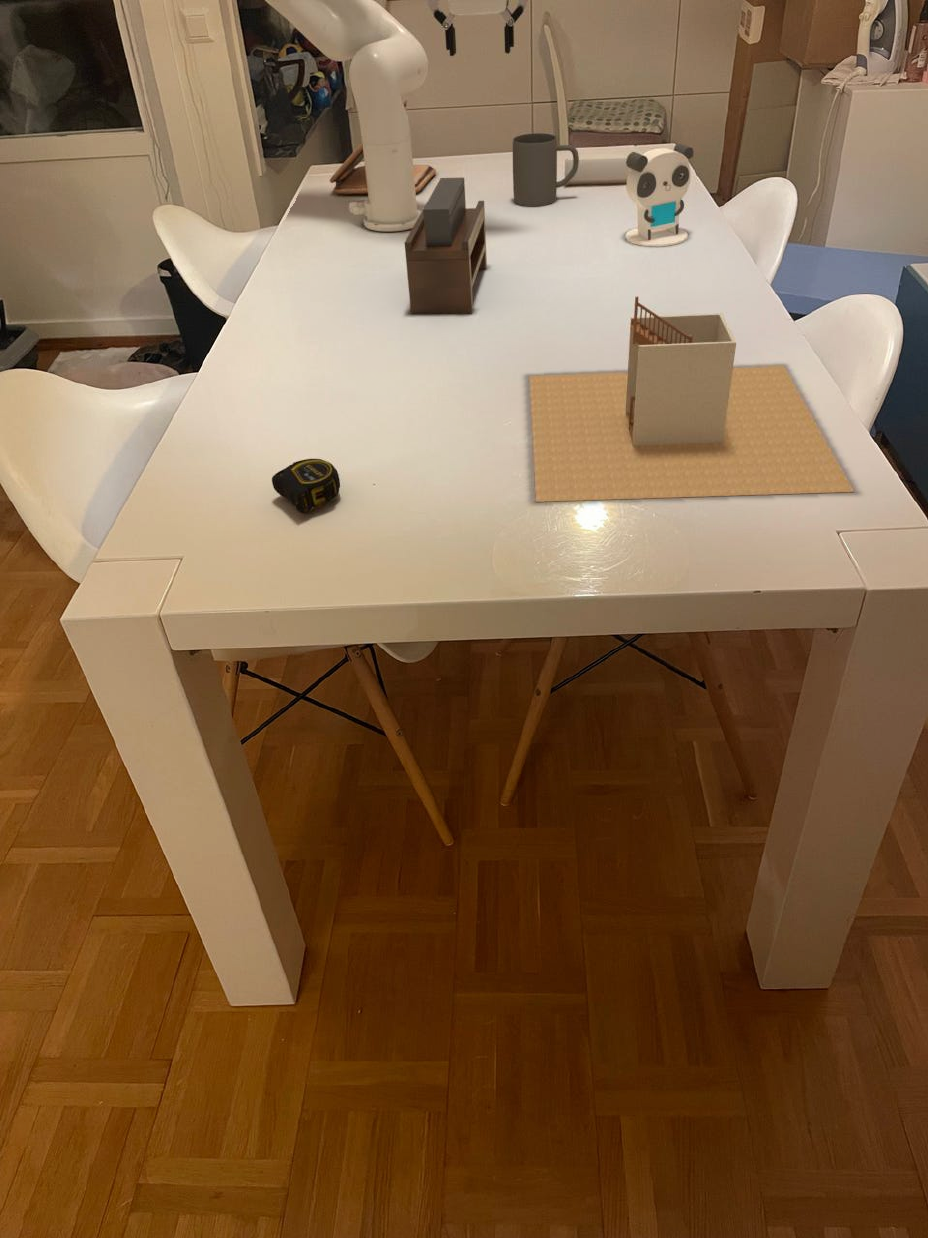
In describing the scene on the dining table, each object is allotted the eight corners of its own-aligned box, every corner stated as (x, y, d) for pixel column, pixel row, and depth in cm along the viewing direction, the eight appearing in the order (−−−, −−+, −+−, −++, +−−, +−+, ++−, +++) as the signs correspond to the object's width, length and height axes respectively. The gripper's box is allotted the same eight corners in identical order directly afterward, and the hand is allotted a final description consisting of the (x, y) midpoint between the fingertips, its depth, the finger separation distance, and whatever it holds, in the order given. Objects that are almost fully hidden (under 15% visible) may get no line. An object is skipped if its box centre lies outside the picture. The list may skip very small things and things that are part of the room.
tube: (680, 156, 201) (565, 159, 203) (683, 154, 196) (565, 157, 198) (678, 183, 203) (564, 186, 205) (681, 181, 198) (564, 184, 200)
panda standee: (642, 250, 167) (647, 160, 157) (611, 234, 175) (615, 147, 165) (699, 239, 170) (708, 150, 160) (666, 223, 178) (673, 138, 169)
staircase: (624, 412, 119) (631, 283, 108) (710, 409, 118) (726, 279, 108) (631, 445, 112) (640, 311, 102) (722, 442, 111) (741, 307, 101)
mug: (513, 207, 192) (512, 144, 184) (513, 195, 199) (511, 134, 192) (579, 204, 191) (580, 140, 184) (576, 192, 198) (577, 130, 191)
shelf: (411, 313, 150) (404, 242, 143) (432, 267, 166) (426, 201, 159) (472, 313, 148) (468, 241, 141) (487, 266, 165) (484, 200, 158)
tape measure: (273, 497, 108) (266, 469, 105) (325, 477, 110) (320, 449, 108) (299, 522, 103) (293, 493, 101) (352, 501, 106) (348, 473, 103)
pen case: (425, 246, 144) (422, 209, 141) (442, 212, 158) (440, 177, 155) (451, 245, 144) (449, 208, 140) (466, 211, 157) (464, 177, 154)
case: (354, 172, 222) (345, 97, 212) (439, 171, 218) (433, 95, 208) (328, 196, 207) (316, 116, 197) (418, 196, 203) (411, 115, 193)
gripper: (530, -74, 151) (531, 47, 162) (426, -67, 154) (434, 52, 165) (526, -71, 146) (528, 54, 157) (419, -64, 148) (428, 59, 159)
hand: (480, 53), depth 161 cm, fingers open, 9 cm apart
